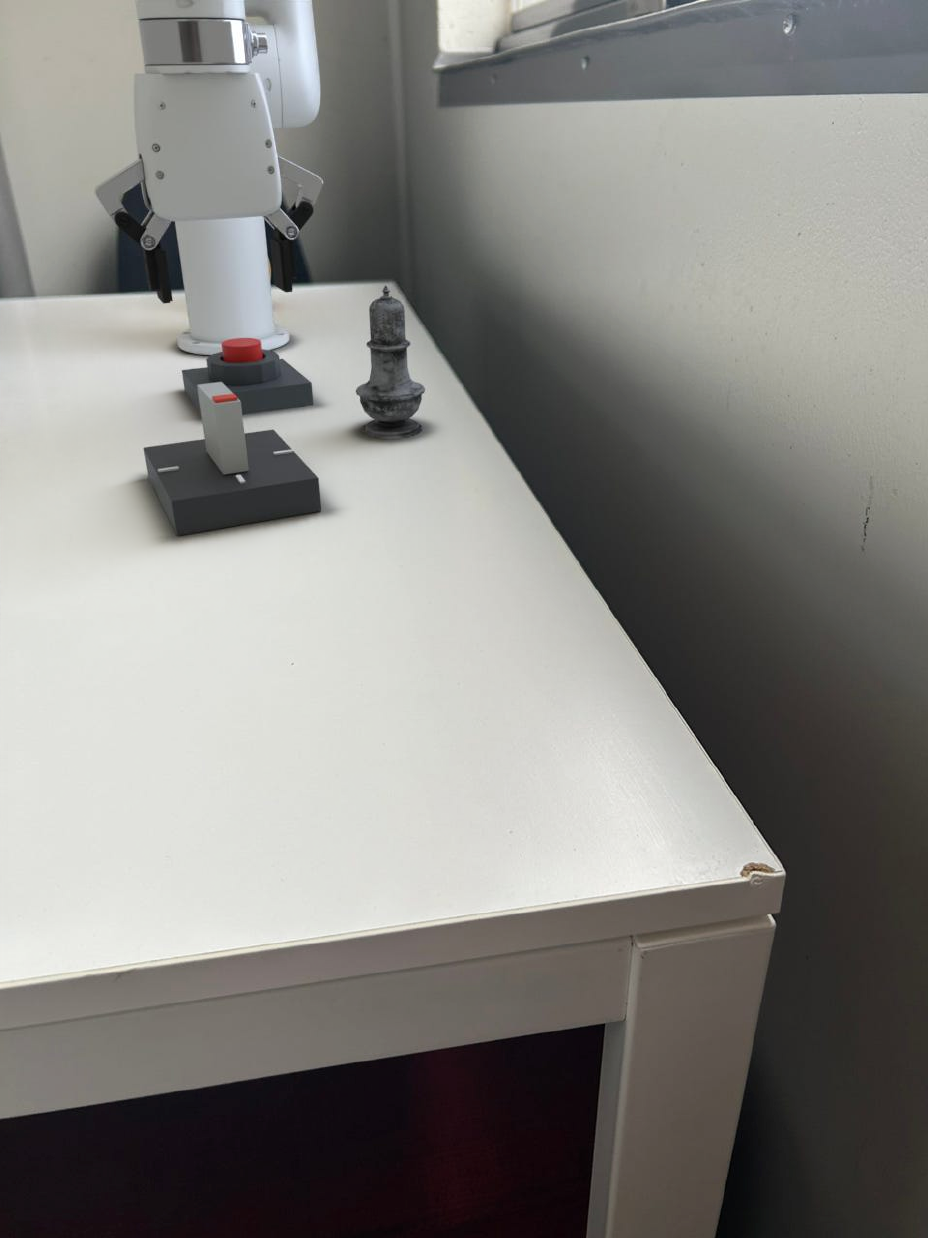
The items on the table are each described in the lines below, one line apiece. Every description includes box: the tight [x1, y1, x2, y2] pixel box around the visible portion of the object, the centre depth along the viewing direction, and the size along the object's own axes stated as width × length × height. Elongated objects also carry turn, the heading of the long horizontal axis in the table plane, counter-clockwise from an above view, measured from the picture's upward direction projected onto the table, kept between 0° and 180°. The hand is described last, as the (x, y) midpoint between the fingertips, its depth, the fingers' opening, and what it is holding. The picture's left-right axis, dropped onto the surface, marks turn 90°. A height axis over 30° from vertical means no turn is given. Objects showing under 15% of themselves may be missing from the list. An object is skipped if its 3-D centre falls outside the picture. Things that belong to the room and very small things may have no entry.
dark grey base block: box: [143, 429, 322, 537], centre depth 72 cm, size 12×10×3 cm
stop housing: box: [181, 349, 314, 416], centre depth 93 cm, size 10×10×4 cm
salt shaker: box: [355, 285, 426, 440], centre depth 82 cm, size 6×6×12 cm
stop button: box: [222, 338, 263, 363], centre depth 92 cm, size 4×4×2 cm
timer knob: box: [197, 382, 249, 475], centre depth 70 cm, size 6×2×5 cm, turn 25°
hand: (225, 294), depth 80 cm, fingers open, 9 cm apart
